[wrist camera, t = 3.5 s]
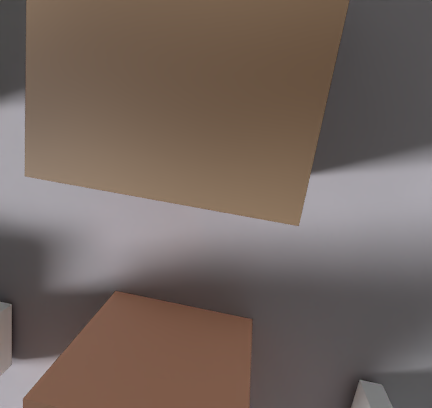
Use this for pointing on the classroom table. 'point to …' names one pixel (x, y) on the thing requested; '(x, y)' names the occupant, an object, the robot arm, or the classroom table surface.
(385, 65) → the classroom table surface
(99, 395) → the terracotta block
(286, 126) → the walnut block
